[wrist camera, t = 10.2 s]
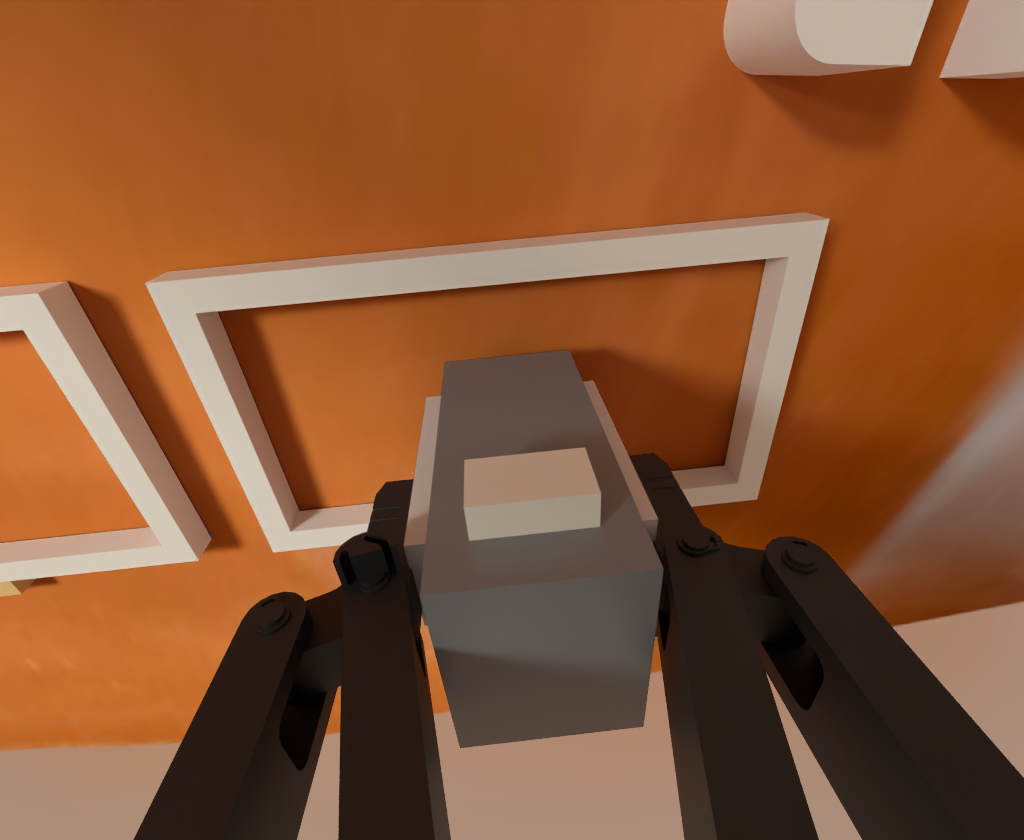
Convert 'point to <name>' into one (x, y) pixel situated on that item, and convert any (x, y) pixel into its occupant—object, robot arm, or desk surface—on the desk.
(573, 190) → the desk surface
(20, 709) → the desk surface
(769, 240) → the socket
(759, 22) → the white slotted bracket
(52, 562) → the socket
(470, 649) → the plug
